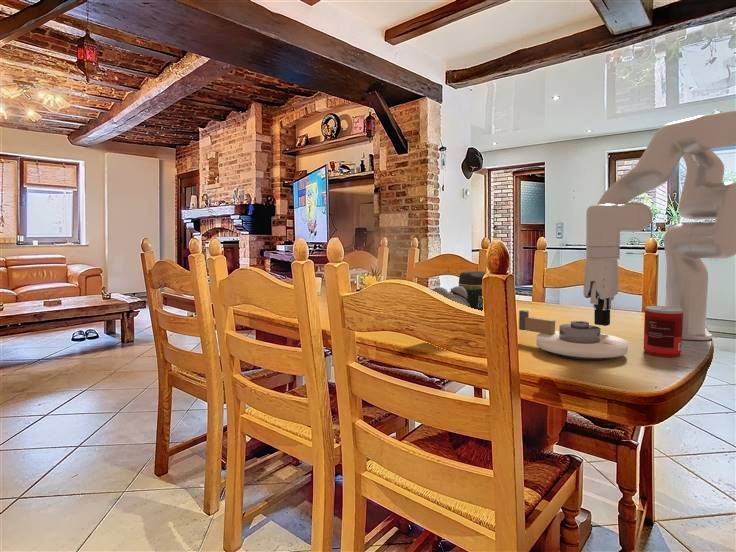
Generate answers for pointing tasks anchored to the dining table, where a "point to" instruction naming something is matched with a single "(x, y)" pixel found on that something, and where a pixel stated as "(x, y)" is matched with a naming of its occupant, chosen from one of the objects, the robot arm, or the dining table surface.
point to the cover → (579, 333)
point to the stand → (580, 357)
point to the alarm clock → (454, 294)
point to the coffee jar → (473, 288)
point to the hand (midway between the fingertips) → (602, 324)
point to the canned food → (663, 331)
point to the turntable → (552, 343)
